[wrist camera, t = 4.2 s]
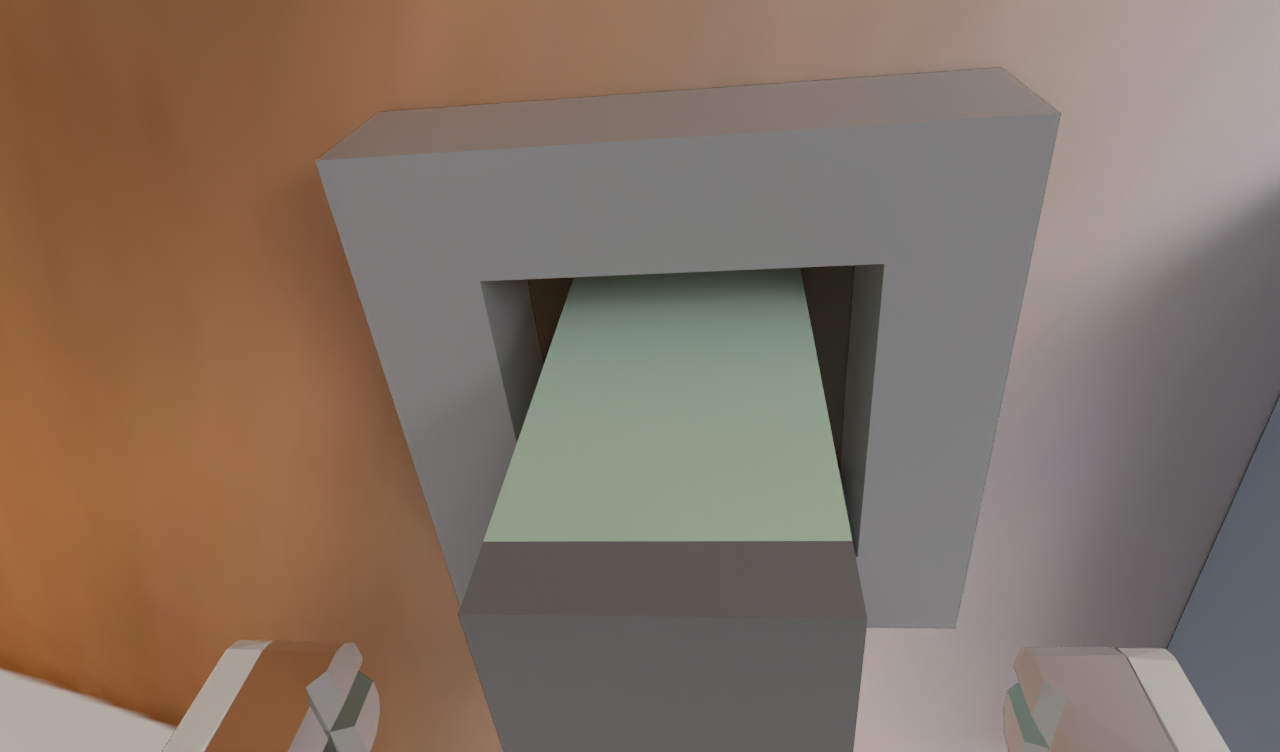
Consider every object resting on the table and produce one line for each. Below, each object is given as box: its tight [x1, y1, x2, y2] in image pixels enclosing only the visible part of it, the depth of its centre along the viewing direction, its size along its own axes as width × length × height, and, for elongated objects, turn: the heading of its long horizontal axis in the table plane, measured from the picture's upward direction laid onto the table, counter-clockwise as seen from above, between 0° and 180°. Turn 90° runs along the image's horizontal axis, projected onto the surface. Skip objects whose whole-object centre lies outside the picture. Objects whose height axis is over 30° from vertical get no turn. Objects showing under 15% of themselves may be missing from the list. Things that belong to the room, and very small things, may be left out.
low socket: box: [315, 67, 1061, 628], centre depth 14 cm, size 10×10×2 cm
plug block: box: [458, 268, 867, 752], centre depth 12 cm, size 4×4×8 cm
